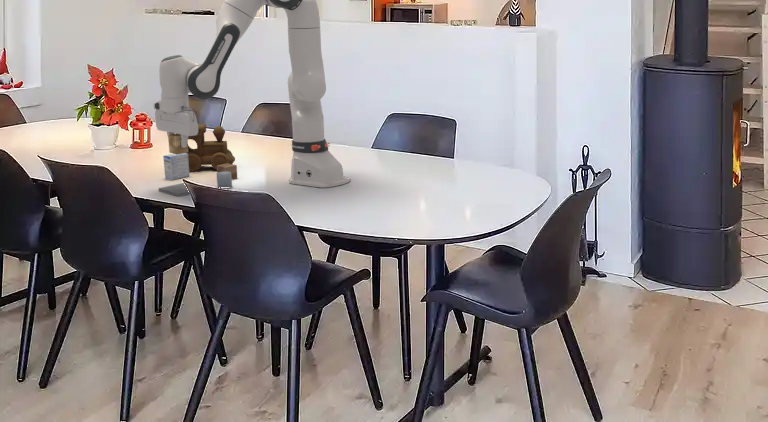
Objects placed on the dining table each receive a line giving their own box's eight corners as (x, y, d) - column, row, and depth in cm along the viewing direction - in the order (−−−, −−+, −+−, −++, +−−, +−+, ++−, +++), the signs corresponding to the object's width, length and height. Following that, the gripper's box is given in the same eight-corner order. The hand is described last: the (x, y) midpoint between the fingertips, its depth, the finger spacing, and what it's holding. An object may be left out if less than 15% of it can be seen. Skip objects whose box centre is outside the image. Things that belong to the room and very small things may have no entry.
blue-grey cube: (235, 187, 301) (234, 172, 300) (223, 189, 298) (222, 175, 296) (226, 184, 304) (225, 170, 303) (214, 187, 301) (213, 173, 300)
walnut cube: (237, 178, 314) (236, 165, 312) (226, 181, 310) (225, 167, 309) (229, 176, 317) (228, 163, 316) (217, 179, 314) (216, 165, 312)
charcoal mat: (206, 190, 297) (206, 187, 297) (178, 196, 289) (178, 193, 289) (186, 185, 305) (185, 182, 305) (158, 191, 297) (158, 188, 297)
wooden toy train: (178, 172, 325) (174, 128, 321) (184, 166, 336) (180, 123, 332) (231, 171, 326) (229, 127, 321) (236, 164, 337) (233, 122, 332)
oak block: (188, 152, 294) (187, 134, 292) (176, 154, 290) (175, 136, 289) (180, 150, 297) (179, 133, 295) (169, 152, 293) (168, 135, 292)
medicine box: (182, 174, 321) (180, 151, 319) (190, 176, 319) (188, 153, 316) (164, 178, 315) (162, 155, 313) (172, 180, 313) (170, 156, 310)
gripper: (201, 106, 285) (204, 148, 288) (166, 101, 298) (169, 141, 302) (185, 109, 280) (188, 151, 284) (150, 103, 294) (153, 144, 297)
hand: (178, 146), depth 293 cm, fingers closed on oak block, 4 cm apart
